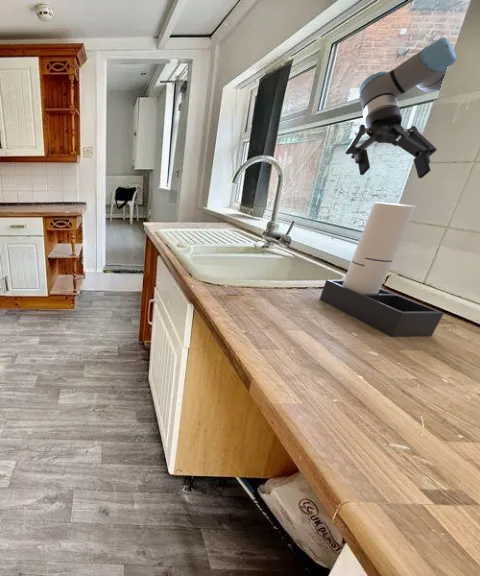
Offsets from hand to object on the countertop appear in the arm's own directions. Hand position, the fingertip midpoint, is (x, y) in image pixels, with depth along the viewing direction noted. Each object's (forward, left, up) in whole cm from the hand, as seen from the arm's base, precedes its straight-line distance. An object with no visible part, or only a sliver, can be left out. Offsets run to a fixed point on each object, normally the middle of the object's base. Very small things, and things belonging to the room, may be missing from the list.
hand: (394, 172), depth 81 cm
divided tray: (+13, +19, -33) cm, 40 cm away
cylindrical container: (+13, +14, -32) cm, 37 cm away
